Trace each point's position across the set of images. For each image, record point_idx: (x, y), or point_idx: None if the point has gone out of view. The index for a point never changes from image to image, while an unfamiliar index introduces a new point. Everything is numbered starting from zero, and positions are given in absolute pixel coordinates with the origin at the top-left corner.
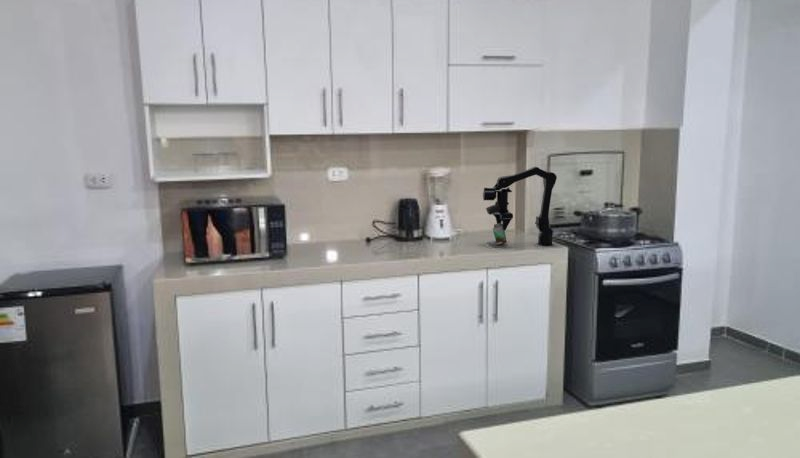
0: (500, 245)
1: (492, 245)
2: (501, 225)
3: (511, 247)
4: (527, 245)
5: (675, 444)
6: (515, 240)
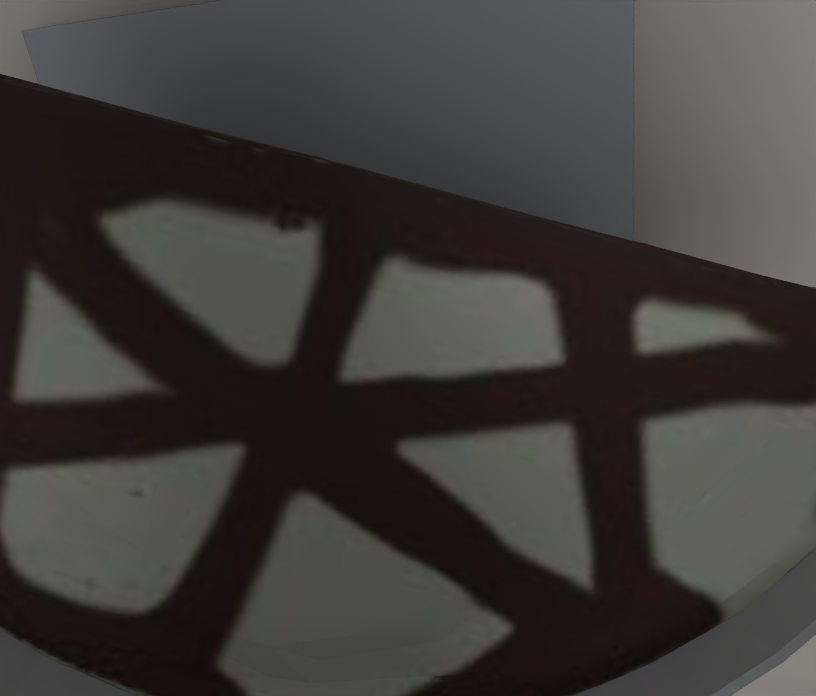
0: None
1: (210, 24)
2: (445, 651)
3: None
4: None
5: None
6: None
